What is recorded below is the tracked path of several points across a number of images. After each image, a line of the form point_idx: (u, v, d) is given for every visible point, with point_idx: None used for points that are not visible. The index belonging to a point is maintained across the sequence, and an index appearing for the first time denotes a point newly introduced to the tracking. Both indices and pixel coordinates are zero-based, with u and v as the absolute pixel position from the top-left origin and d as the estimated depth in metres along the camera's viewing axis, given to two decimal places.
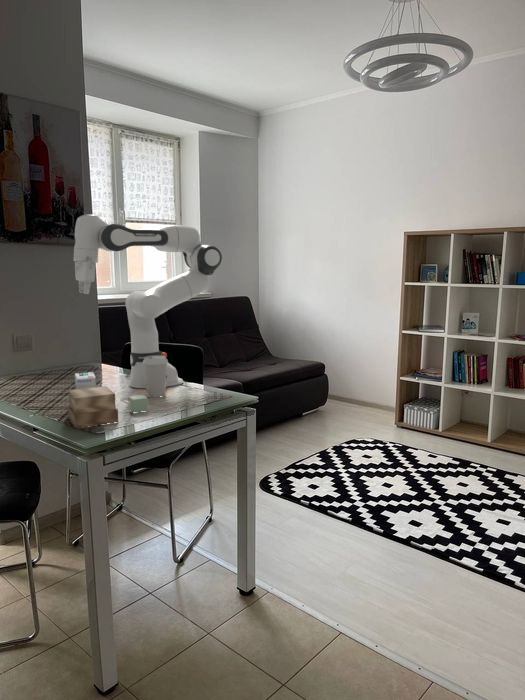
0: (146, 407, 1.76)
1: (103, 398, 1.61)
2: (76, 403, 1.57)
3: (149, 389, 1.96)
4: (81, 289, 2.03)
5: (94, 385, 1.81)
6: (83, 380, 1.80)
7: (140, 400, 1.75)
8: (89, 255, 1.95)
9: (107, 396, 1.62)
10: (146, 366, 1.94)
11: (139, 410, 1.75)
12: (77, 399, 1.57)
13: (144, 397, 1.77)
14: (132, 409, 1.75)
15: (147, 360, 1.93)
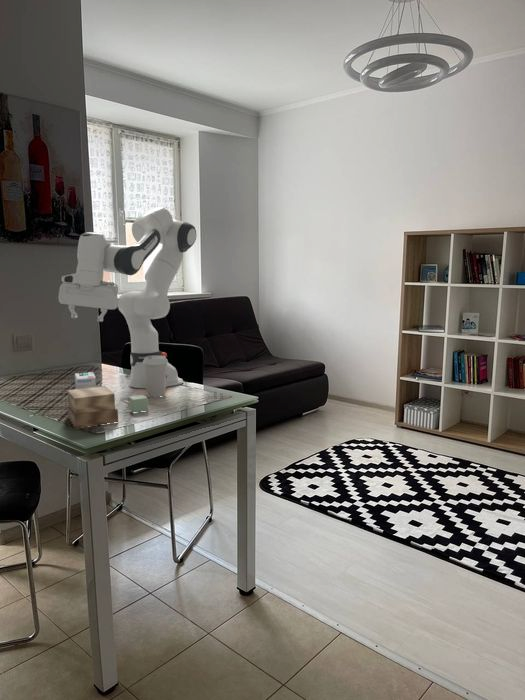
0: (146, 407, 1.76)
1: (103, 398, 1.61)
2: (76, 403, 1.57)
3: (149, 389, 1.96)
4: (75, 314, 1.79)
5: (94, 385, 1.81)
6: (83, 380, 1.80)
7: (140, 400, 1.75)
8: (102, 279, 1.77)
9: (107, 396, 1.62)
10: (146, 366, 1.94)
11: (139, 410, 1.75)
12: (77, 399, 1.57)
13: (144, 397, 1.77)
14: (132, 409, 1.75)
15: (147, 360, 1.93)
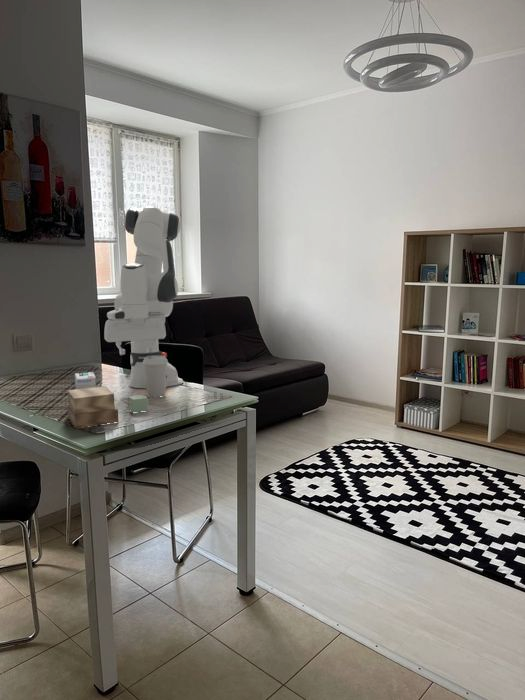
0: (146, 407, 1.76)
1: (103, 398, 1.61)
2: (75, 403, 1.57)
3: (149, 389, 1.96)
4: None
5: (94, 385, 1.81)
6: (83, 380, 1.80)
7: (140, 400, 1.75)
8: None
9: (107, 396, 1.62)
10: (146, 366, 1.94)
11: (139, 410, 1.75)
12: (76, 399, 1.57)
13: (144, 397, 1.77)
14: (132, 409, 1.75)
15: (147, 360, 1.93)
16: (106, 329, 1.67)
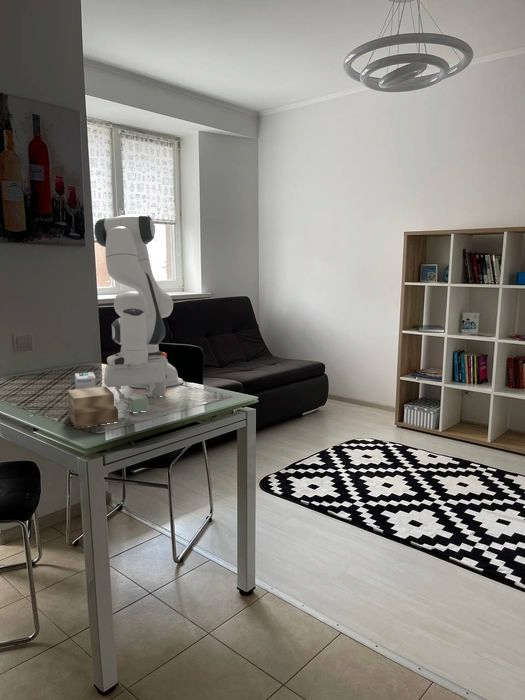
0: (146, 407, 1.76)
1: (102, 398, 1.61)
2: (75, 403, 1.57)
3: None
4: None
5: (94, 385, 1.81)
6: (83, 380, 1.80)
7: (140, 400, 1.75)
8: None
9: (106, 396, 1.61)
10: None
11: (139, 410, 1.75)
12: (76, 399, 1.57)
13: (144, 397, 1.77)
14: (132, 409, 1.75)
15: None
16: (106, 374, 1.70)
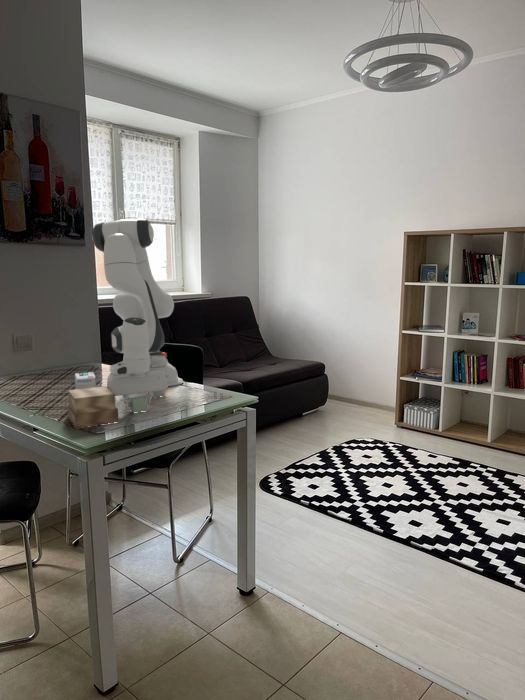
0: (146, 407, 1.76)
1: (103, 398, 1.61)
2: (76, 403, 1.57)
3: None
4: None
5: (94, 385, 1.81)
6: (83, 380, 1.80)
7: (140, 400, 1.75)
8: None
9: (107, 396, 1.62)
10: None
11: (139, 410, 1.75)
12: (77, 399, 1.57)
13: (144, 397, 1.77)
14: (132, 409, 1.75)
15: None
16: (109, 384, 1.70)
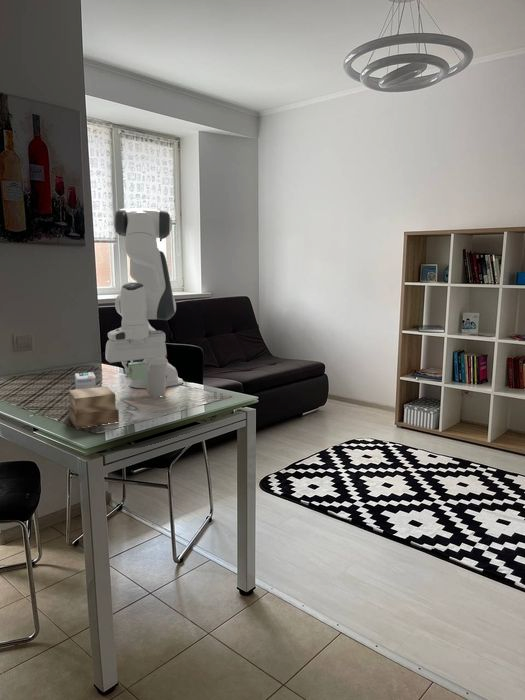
0: (145, 373, 1.75)
1: (104, 398, 1.61)
2: (76, 403, 1.57)
3: (149, 389, 1.96)
4: None
5: (94, 385, 1.81)
6: (83, 380, 1.80)
7: (139, 366, 1.73)
8: None
9: (108, 396, 1.61)
10: None
11: (138, 376, 1.74)
12: (77, 399, 1.57)
13: (143, 363, 1.75)
14: (131, 375, 1.74)
15: None
16: (107, 350, 1.69)
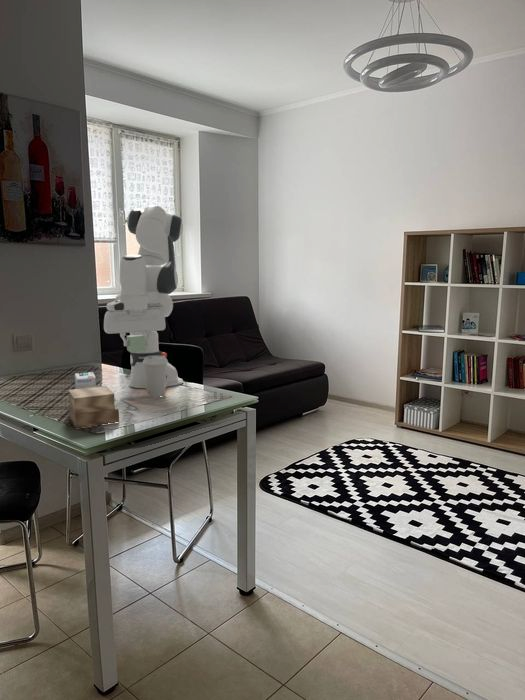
0: (144, 346, 1.73)
1: (103, 398, 1.61)
2: (75, 403, 1.57)
3: (149, 389, 1.96)
4: None
5: (94, 385, 1.81)
6: (83, 380, 1.80)
7: (138, 338, 1.71)
8: None
9: (107, 396, 1.61)
10: (146, 366, 1.94)
11: (137, 349, 1.72)
12: (76, 399, 1.57)
13: (142, 336, 1.73)
14: (130, 348, 1.72)
15: (147, 360, 1.93)
16: (105, 320, 1.67)
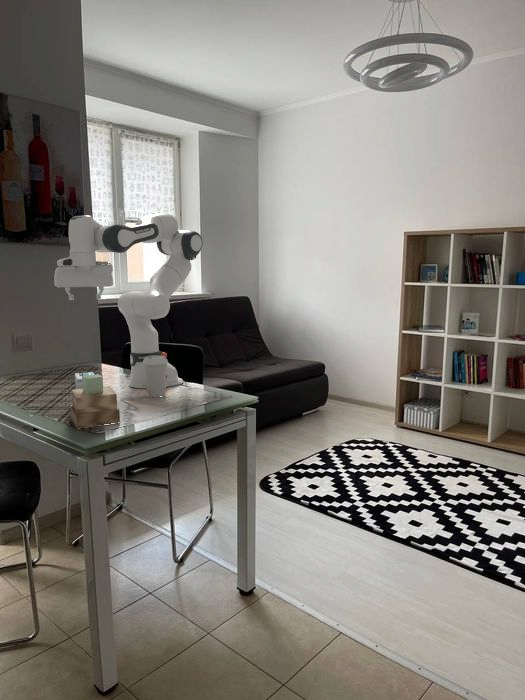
0: (101, 387, 1.64)
1: (105, 398, 1.61)
2: (77, 403, 1.57)
3: (149, 389, 1.96)
4: None
5: None
6: None
7: (94, 379, 1.62)
8: None
9: (109, 396, 1.61)
10: (146, 366, 1.94)
11: (93, 390, 1.63)
12: (78, 399, 1.57)
13: (99, 376, 1.64)
14: (86, 389, 1.62)
15: (147, 360, 1.93)
16: (55, 275, 1.82)
